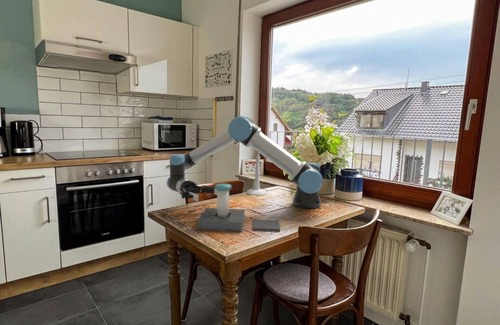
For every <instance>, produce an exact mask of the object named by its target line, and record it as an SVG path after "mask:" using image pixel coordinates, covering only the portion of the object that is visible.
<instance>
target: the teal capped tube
mask: <svg viewBox="0 0 500 325" xmlns="http://www.w3.org/2000/svg"><path fill="white" fill-rule="evenodd" d="M214 185H215V186H214V187H215V189H216V190H217V195H216V199H217V200H216V208H217V217H229V209H230V190H231V189H232V184H230V183H216V184H214Z"/></svg>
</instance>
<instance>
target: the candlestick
mask: <svg viewBox="0 0 500 325" xmlns="http://www.w3.org/2000/svg"><path fill="white" fill-rule="evenodd" d="M255 155H256V156H254V158H255V171H254V172H255V173H254V183H253V188H250V189H248V190H246V192H245V193H246V194H247V195H248V194H250V196H253V195H255V197H256V196H257V197H258V196H259V197H262V196H265V195H267V194H268V193H267V191H266V190H264V189H262V188H260V186H261V185H260V160H261V156H260V153H259V152H258V151H256V150H255ZM261 195H262V196H261Z"/></svg>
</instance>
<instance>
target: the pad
mask: <svg viewBox="0 0 500 325" xmlns="http://www.w3.org/2000/svg"><path fill="white" fill-rule="evenodd" d="M280 225H281V224H280V220H278V219H277V220H276V219H257V218H255V219H253V226H252V227H253V229H252V231H260V232H261V231H262V232H263V231H264V232H281V226H280Z"/></svg>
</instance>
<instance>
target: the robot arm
mask: <svg viewBox="0 0 500 325" xmlns="http://www.w3.org/2000/svg"><path fill="white" fill-rule="evenodd" d="M234 143H236V144H238V143H241V144H242V145H244V146H245V147H247V148H249V147H250V148H252V149H254V150H255V152H256V151H258V152H259V155H261V156H263V157H264V158H266V159H267V161H268V160H269V161H270V162H271V163H273V164H274V165H275V166H277V167H278V168H279V169H281V170H282V172H285V173H286V174H287V175H289V180H290V181H291V182H292V183H294V184H295V185H296V190H295V193H294V195H293V198H292V205H293V206H295V207H297V208H301V209H303V208H304V209H317V208H320V207H321V205H322V204H321V198H320V193H319V190H320V189H321V188H322V185H323V181H324V179H323V176H322V174H321V173H320V170H321V166H320V164H319V163H313V162H312V163H311V162H308V163H307V162H306V161H300V160H298V159H297V158H296V157H295V156H293V155H292V154H290V152H287V151H286V150H285V149H284V148H282V147H281V146H280V145H279V144H277V143H276V142H275V141H273V140H272V139H271V138H269V137H268V136H267V135H265V134H264V133H263V132H262V128H261V127H260V126H258V125H257V124H255V123H254V121H253V120H252V119H251V118H249V117H247V116H243V115H240V116H236V117H234V118H232V119H231V121H230V122H229V124H228V127H227V130H226V131H224V132H222V133H220V134H218V135H217V136H215V137H213V138H211V139H210V140H209V141H207V142H204V143H203V144H202V145H199V146H198V147H196V148H195V149H192V150H191V151H190V152H188V153H186V154H182V153H181V154H179V153H178V154H177V153H176V154H170V156H169V177H168V178H167V180H166V185H167V186H166V187H168V189H170V190H171V191H174V192H177V193H179V195H181V199H185V200H186V201H188V200H192V201H196V202H199V197H200V196H199V194H203V193H204V194H205V193H206V194H214V195H216V196H217V190H216V189H215V186H210V185H209V186H208V185H197V184H196V182H195V181H193V180H189V179H186V178H185V173H186V172H185V171H186V170H188V169H191V168H192V167H193V166H195V165H196V164H199V163H200V162H202V161H204V160H206V159H208V158H209V157H211V156H212V155H215V154H216V153H218V152H220V151H222V150H223V149H225V148H227V147H228V146H230V145H231V144H234Z"/></svg>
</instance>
